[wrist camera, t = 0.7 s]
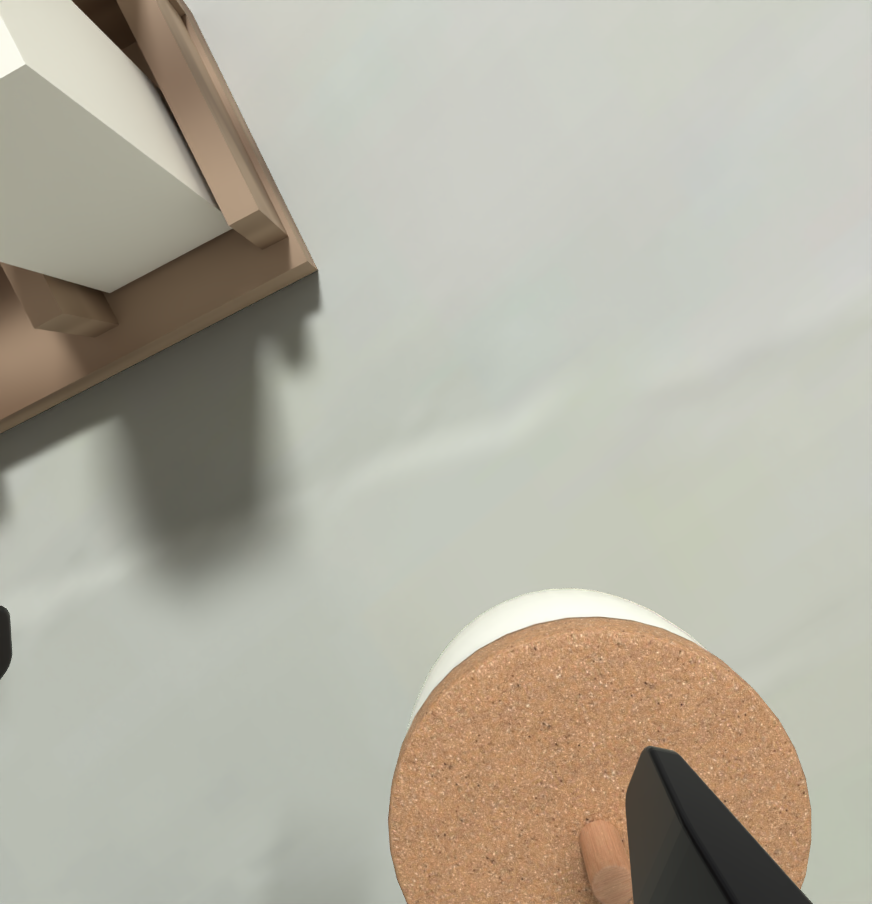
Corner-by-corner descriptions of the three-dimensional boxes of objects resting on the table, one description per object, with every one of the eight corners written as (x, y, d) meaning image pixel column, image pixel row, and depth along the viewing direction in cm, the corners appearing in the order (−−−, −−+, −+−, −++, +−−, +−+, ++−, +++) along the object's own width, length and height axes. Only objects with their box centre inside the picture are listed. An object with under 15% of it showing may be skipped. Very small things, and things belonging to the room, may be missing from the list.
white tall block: (238, 224, 20) (25, 64, 10) (109, 293, 21) (-214, 200, 11) (182, 112, 20) (-90, -162, 10) (53, 183, 21) (-332, -15, 11)
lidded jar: (743, 756, 23) (933, 1001, 14) (485, 863, 24) (500, 1162, 15) (625, 502, 22) (741, 579, 13) (364, 621, 23) (298, 773, 14)
